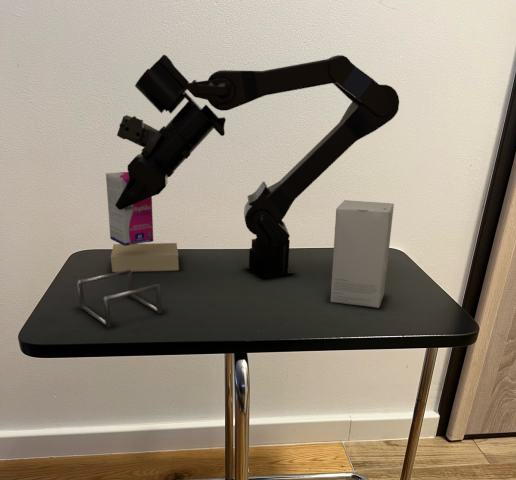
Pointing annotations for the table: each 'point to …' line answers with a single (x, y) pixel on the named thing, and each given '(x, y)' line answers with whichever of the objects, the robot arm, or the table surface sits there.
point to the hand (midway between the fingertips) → (121, 202)
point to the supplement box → (128, 214)
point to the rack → (118, 295)
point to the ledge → (145, 257)
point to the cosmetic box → (361, 252)
